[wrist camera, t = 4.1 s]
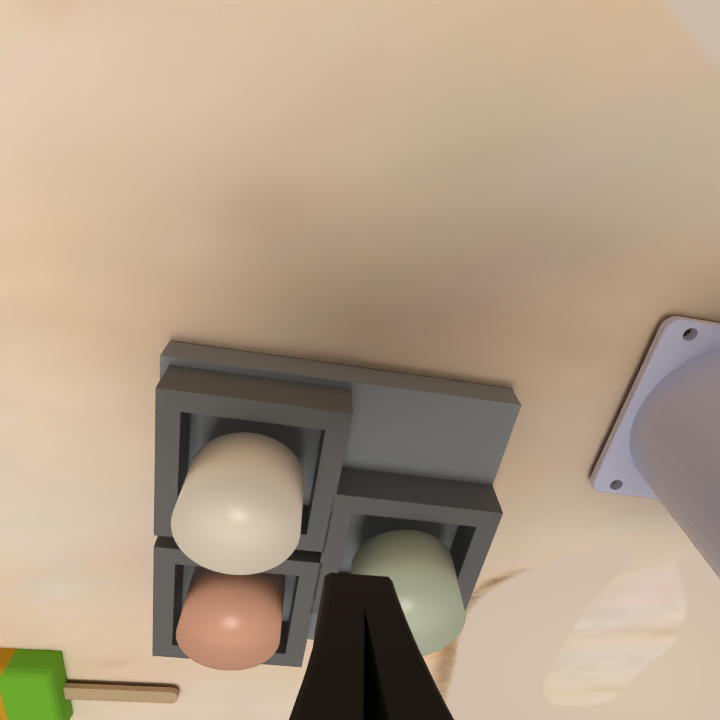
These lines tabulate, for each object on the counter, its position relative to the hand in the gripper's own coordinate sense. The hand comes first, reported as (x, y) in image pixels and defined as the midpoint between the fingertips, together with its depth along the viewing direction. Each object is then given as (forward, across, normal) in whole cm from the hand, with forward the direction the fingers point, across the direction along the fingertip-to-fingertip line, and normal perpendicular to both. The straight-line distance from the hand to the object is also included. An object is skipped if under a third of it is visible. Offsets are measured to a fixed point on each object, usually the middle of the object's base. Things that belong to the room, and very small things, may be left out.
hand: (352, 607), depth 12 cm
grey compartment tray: (+10, 0, +7) cm, 12 cm away
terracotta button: (+9, +3, +10) cm, 14 cm away
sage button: (+7, -3, +7) cm, 11 cm away
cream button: (+7, +3, +3) cm, 9 cm away
